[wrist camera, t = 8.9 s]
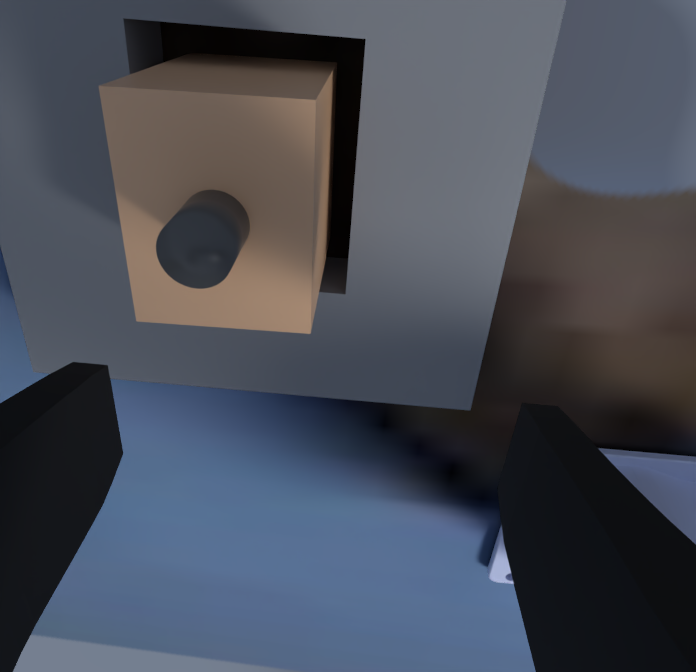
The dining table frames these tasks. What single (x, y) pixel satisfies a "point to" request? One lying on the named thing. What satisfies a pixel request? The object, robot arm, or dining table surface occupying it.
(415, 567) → the dining table surface
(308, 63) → the plug
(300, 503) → the dining table surface
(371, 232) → the socket
